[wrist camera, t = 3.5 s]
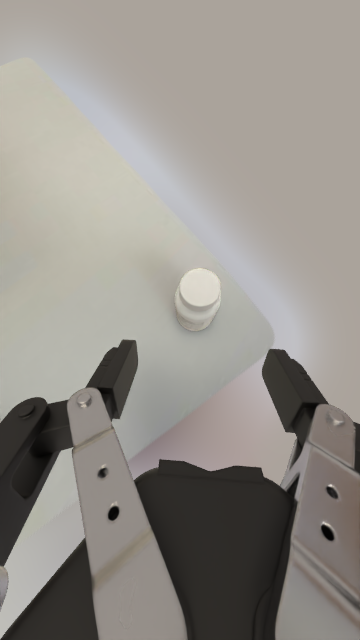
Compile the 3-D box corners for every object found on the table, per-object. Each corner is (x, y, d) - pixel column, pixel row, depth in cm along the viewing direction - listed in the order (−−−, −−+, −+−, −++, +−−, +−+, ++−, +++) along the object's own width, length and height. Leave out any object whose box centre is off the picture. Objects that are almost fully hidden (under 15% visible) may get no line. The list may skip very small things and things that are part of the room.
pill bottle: (198, 290, 23) (204, 253, 16) (220, 317, 22) (238, 291, 15) (169, 310, 23) (162, 281, 15) (191, 338, 22) (195, 323, 14)
